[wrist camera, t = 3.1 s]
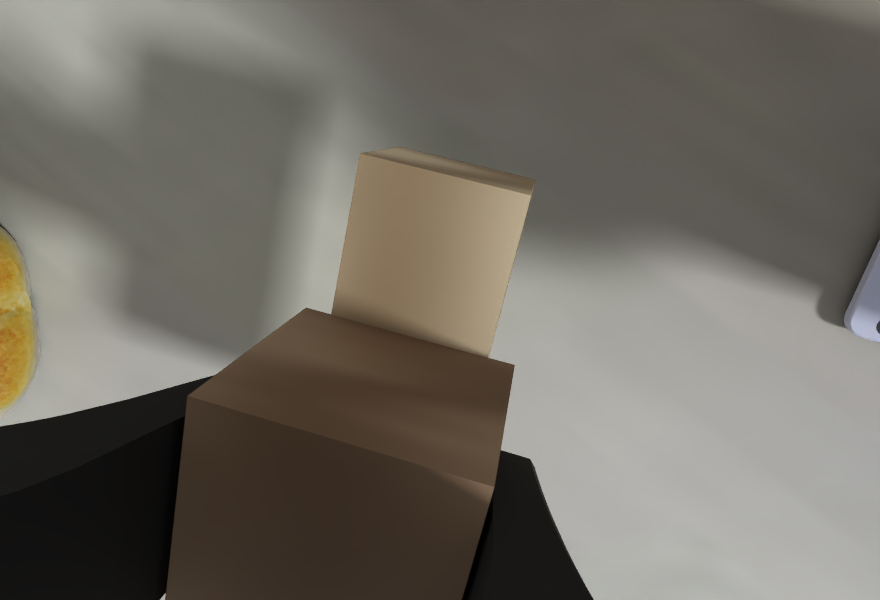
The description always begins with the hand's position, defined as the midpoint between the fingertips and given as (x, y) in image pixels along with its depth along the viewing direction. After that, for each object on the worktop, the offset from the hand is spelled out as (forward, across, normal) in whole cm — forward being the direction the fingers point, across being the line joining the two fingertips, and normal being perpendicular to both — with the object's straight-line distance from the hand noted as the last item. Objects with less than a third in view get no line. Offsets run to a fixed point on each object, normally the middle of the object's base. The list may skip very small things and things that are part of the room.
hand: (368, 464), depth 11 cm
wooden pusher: (+4, 0, 0) cm, 4 cm away
